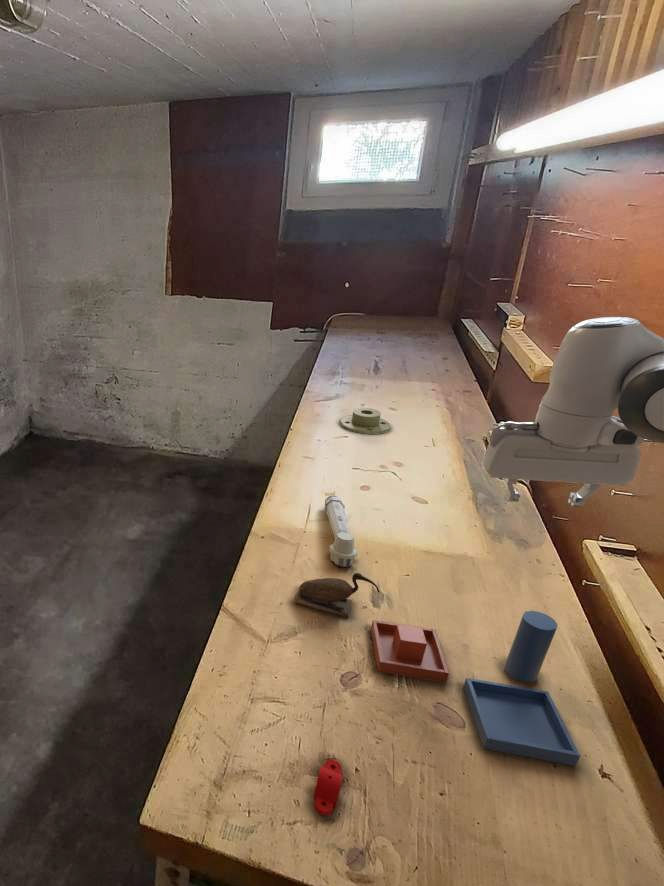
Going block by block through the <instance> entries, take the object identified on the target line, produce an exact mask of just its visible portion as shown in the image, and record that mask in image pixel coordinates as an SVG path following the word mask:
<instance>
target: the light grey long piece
mask: <svg viewBox="0 0 664 886" xmlns="http://www.w3.org/2000/svg"><path fill="white" fill-rule="evenodd" d="M345 506H346V505H345V504H344V503H343V501H342V499H341V498H339V496H338V495H329V496H328V497H326V498H325V500H324V512H325V513H326V514H327V517H328V518H327V519H328V520H329V524H330V527H331V530H332V532H333V537H334V542H333V543H331V544H330V545H329V552H330V557H329V559H330V561H331V562H334V565H337V566H339V567H351V566H352V564H354V563H355V558H356V557H357V556H358V551H357V550H358V549H357V548H356V547H355V539H354V536H353V534H351V533H350V530H349V526H348V520H347V518H346V513H345Z"/></svg>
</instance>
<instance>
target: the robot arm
mask: <svg viewBox="0 0 664 886" xmlns="http://www.w3.org/2000/svg"><path fill="white" fill-rule="evenodd" d="M615 410H617V412H618V416H615V415H614V412H615ZM489 436H490V437H489V443H488V445H487V447H486V450H485V452H484V454H483V457H482V460H481V463H480V465H481V468H482V469H483V471H484V472H485V473H486V474H487V475H488V476H489V477H490V478H493V479H502V482H503V484H504V486H505V493H504V500H505V501H506V502H508V503H519V501H520V500H519V499H520V498H521V495H522V493H521V492H520V491H519V490H518V489H517V488H514V486H513V485H517V484H518V481H519V480H525V481H539V482H556V483H568V484H569V483H570V484H583V486H582V487H581V488H580V489H578V490H577V491H576V492H572V491H571V492H570V494H569V498H568V501H567V503H568V504H569V505H570V507H577V508H580V507H581V508H583V507H584V506H585V504H586V501H587V499H589V498H591V496H593V495H594V494H595V493H597V492H599V490H600V488H601V485H603V486H617V487H622V486H626V485H627V484H628V483H630V482H631V481H632V480H633V479H634V476H635V475H636V472H637V470H638V466H639V463H640V461H641V454H642V453H641V452H642V451H641V449H640V447H639V446H641V445H642V444H643V443H644V441H645V440H646V441H649V442H654V443H659V444H664V337H661V336H660V335H659V334H657V333H655V332H653V331H651V330H650V329H648V328H647V327H646V326H644V324H642V323H641V321H640V320H638V319H636V318H632V317H627V316H626V317H625V316H624V317H623V316H604V317H594V318H590V319H589V318H588V319H586V320H582V321H580V322H578V323H577V324H575V325H573V326H572V327H571V328H570V329H569V330H568V331H567V333H566V334H565V336H564V338H563V339H562V341H561V343H560V345H559V347H558V350H557V352H556V355H555V357H554V360H553V363H552V365H551V369H550V373H549V384H548V388H547V391H546V392H545V394H544V395H542V398H541V401H540V404H539V406H538V410H537V413H536V415H535V418H534V422H528V421H526V422H516V421H505V422H504V423H502V424H499V425H497V426H495V427H494V428H492V430H491V433H490V435H489Z"/></svg>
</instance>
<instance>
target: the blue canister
mask: <svg viewBox="0 0 664 886" xmlns="http://www.w3.org/2000/svg"><path fill="white" fill-rule="evenodd" d="M557 629H558V623H557V622H556V620H555V619H554V618H552V616H549V615H548V614H546V613H543V612H541V611H536V610H528V611H525V612H523V614H522V617H521V619H520V622H519V625H518V628H517V630H516V633H515V636H514V639H513V641H512V644H511V648H510V650H509V652H508V654H507V658H506V660H505V664H504V667H503V668H504V672H505V673H506V674H507V675H508V676H509V677H511V678H512V679H513V680H516V681H517V682H520V683H524V684H533V683H535V682H536V681H537V679H538V676H539V674H540V671H541V669H542V666H543V664H544V661H545V659H546V656H547V654H548V652H549V649H550V646H551V644H552V643H553V639H554V636H555V634H556V631H557Z"/></svg>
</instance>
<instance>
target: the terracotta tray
mask: <svg viewBox="0 0 664 886" xmlns="http://www.w3.org/2000/svg"><path fill="white" fill-rule="evenodd" d="M397 624H398V623H394V622H388V621H381V620H375V619H373V620H372V621H371V626H370V632H371V633H370V634H371V638H372V644H373V651H374V656H375V662H376V668H377V672H381V673H387V674H391V675H398V676H404V677H410V678H416V679H421V680H427V681H433V682H439V683H443V684H444V683H445V684H446V683H447V682H448V678H449V675H450V672H449V669H448V665H447V662H446V658H445V655H444V652H443V649H442V646H441V643H440V640H439V637H438V634H437V630H436V629H433V628H430V627H429V628H428V627H421V626H420V627H421V628H422V629H423V632H424V636H425V639H426V643H427V646H426V650H425V653H424V657H423V661H422V662H417V661H411V660H405V659H399V658H396V655H395V650H394V645H393V638H394V634H395V630H396V625H397ZM400 624H401V623H400ZM401 625H403V624H401ZM406 625H407V626H410V625H408V624H406ZM413 626H414V627H416V626H415V625H413Z"/></svg>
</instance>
